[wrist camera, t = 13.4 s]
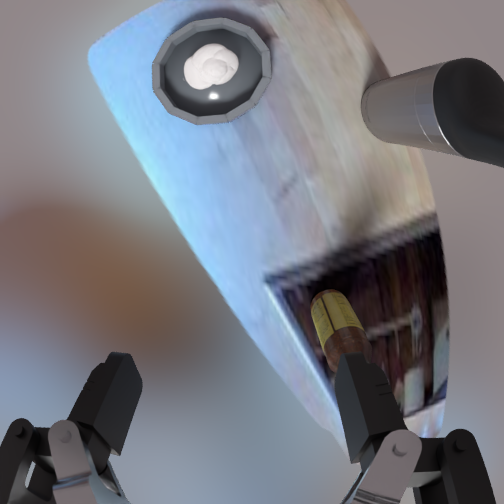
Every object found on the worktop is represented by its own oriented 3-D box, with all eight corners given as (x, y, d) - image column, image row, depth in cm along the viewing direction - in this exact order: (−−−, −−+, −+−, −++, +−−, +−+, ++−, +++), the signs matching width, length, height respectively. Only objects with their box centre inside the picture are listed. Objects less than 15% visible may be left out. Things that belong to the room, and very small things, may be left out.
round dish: (266, 22, 27) (267, 15, 25) (272, 121, 33) (273, 120, 31) (158, 35, 28) (152, 29, 25) (162, 130, 34) (154, 130, 31)
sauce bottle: (320, 323, 46) (345, 420, 28) (302, 299, 44) (325, 400, 26) (353, 304, 44) (394, 397, 26) (337, 278, 42) (381, 373, 24)
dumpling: (227, 43, 28) (223, 34, 24) (246, 74, 30) (245, 67, 26) (179, 69, 29) (170, 63, 26) (197, 100, 31) (190, 96, 28)
